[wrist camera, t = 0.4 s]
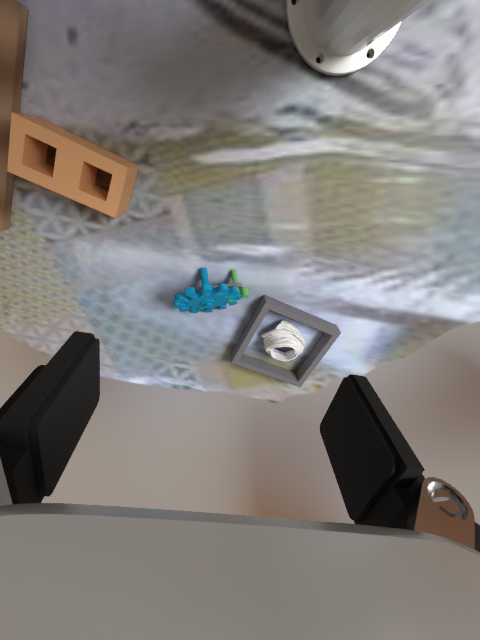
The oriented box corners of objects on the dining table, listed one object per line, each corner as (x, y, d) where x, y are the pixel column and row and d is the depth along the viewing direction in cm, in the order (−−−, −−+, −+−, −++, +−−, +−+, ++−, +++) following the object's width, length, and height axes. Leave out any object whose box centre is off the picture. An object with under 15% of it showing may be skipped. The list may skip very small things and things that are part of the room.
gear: (177, 319, 47) (168, 298, 38) (174, 285, 49) (164, 257, 39) (245, 311, 49) (253, 288, 39) (239, 278, 50) (246, 248, 40)
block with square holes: (32, 168, 37) (7, 171, 33) (38, 116, 35) (11, 112, 30) (127, 210, 40) (115, 218, 36) (139, 165, 37) (127, 167, 33)
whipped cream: (309, 335, 53) (320, 351, 49) (284, 360, 55) (292, 377, 51) (278, 312, 50) (287, 326, 45) (252, 340, 51) (258, 356, 47)
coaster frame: (264, 294, 47) (266, 301, 45) (336, 325, 51) (341, 332, 49) (230, 354, 53) (231, 363, 51) (297, 378, 56) (300, 387, 54)
